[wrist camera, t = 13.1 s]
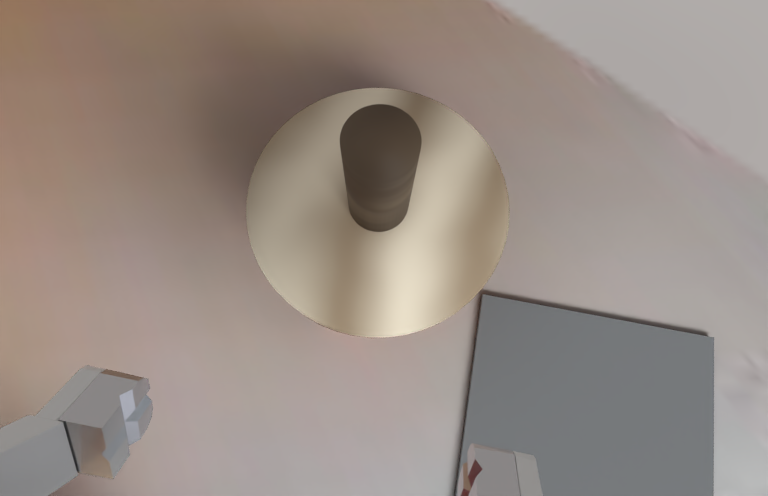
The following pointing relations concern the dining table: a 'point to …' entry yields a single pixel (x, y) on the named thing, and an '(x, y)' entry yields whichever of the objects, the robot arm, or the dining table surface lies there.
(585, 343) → the mat
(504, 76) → the dining table surface
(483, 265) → the lid
